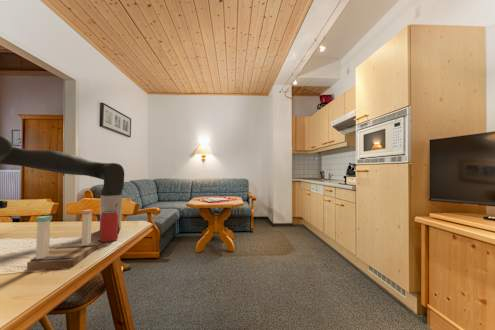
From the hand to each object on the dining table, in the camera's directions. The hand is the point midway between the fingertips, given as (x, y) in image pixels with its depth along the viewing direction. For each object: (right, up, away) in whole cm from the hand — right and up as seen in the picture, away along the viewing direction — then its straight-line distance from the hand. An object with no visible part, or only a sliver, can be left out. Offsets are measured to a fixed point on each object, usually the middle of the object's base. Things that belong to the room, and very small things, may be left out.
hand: (5, 204), depth 72 cm
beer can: (+14, -20, +29) cm, 38 cm away
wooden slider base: (+12, -19, +9) cm, 24 cm away
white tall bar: (+14, -17, +15) cm, 27 cm away
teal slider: (+10, -16, +2) cm, 19 cm away
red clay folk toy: (+10, -20, +37) cm, 44 cm away
